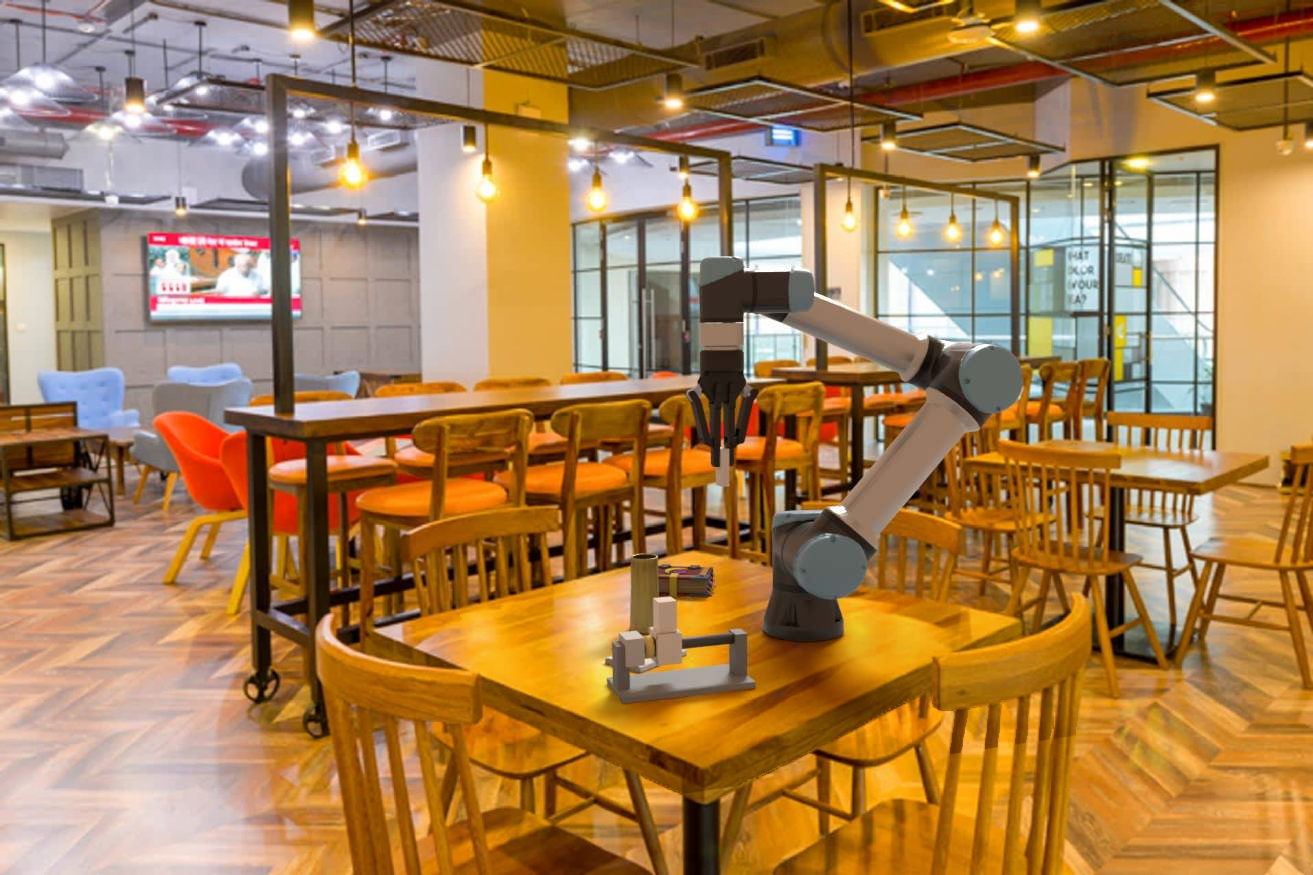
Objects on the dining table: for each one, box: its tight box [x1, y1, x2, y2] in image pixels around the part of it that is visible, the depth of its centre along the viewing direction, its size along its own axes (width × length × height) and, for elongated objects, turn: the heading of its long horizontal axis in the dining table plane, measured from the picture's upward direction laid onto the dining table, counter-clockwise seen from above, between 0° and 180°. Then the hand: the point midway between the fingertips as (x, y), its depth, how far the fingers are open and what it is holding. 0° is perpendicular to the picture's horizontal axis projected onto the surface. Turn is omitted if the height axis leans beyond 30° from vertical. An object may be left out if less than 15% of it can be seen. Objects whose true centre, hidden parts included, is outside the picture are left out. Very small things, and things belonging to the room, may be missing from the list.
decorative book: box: [658, 563, 717, 598], centre depth 241 cm, size 11×16×5 cm
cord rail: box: [606, 628, 757, 704], centre depth 178 cm, size 22×10×9 cm, turn 107°
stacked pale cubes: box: [648, 596, 683, 667], centre depth 176 cm, size 4×5×10 cm
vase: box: [629, 553, 660, 635], centre depth 210 cm, size 6×6×14 cm
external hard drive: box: [604, 649, 688, 674], centre depth 192 cm, size 2×8×12 cm
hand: (722, 485), depth 190 cm, fingers closed
